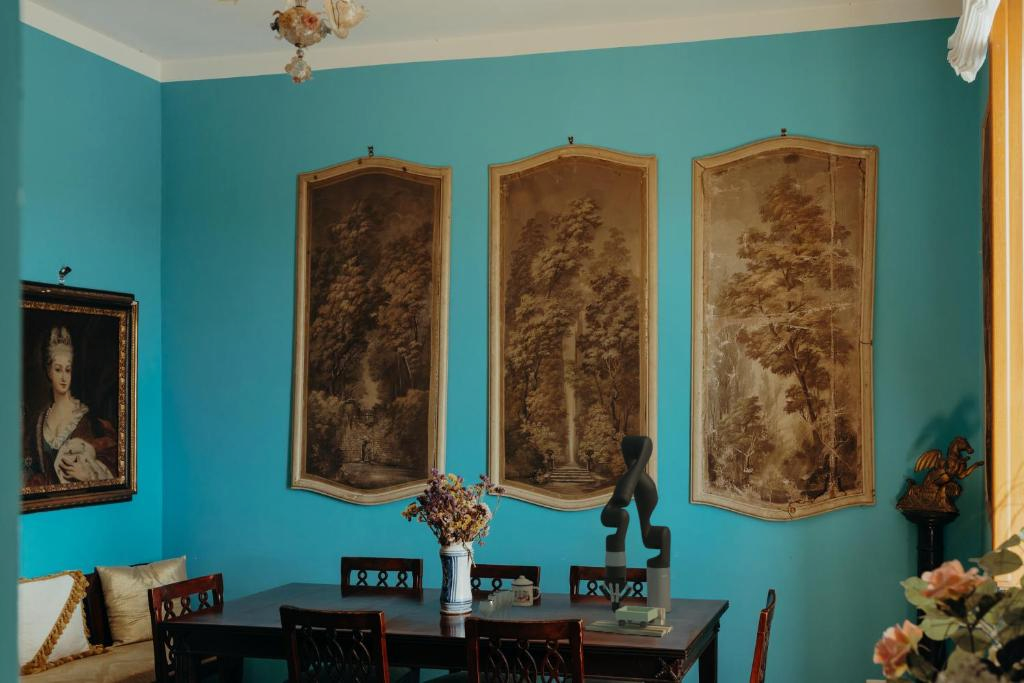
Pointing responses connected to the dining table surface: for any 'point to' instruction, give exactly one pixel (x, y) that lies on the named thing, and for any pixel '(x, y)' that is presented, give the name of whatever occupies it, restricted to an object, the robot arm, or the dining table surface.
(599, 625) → the rail board
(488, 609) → the goblet set
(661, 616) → the cream block
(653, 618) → the dolly
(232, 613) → the dining table surface
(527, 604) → the teacup with lid
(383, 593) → the dining table surface
